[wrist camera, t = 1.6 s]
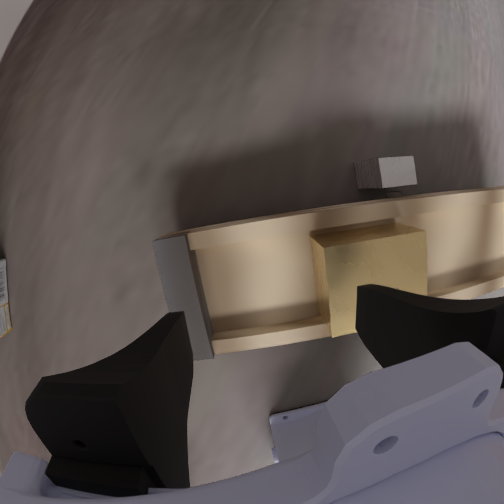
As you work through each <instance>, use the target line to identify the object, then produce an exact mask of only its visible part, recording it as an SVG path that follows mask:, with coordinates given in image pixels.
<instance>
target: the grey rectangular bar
mask: <svg viewBox="0 0 504 504" xmlns="http://www.w3.org/2000/svg"><path fill="white" fill-rule="evenodd" d="M354 168H355V174H356V180H357V187H358V188H388V187H396V186H405V185H414V184H417V178H416V171H415V164H414V158H413V156H402V157H386V158H376V159H371V160H366V161H362V162H357V163H354Z"/></svg>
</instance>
